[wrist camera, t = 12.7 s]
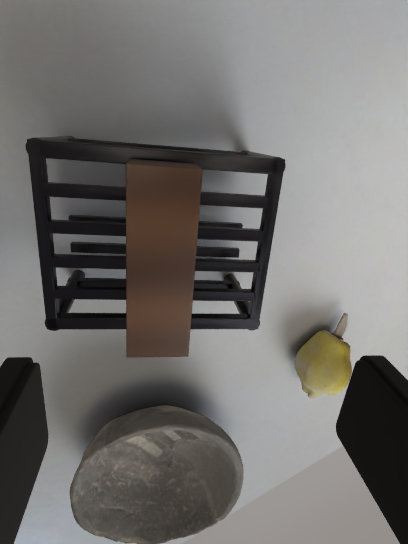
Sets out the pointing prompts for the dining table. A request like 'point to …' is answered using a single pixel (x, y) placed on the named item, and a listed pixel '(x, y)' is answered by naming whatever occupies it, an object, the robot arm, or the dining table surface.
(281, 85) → the dining table surface
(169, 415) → the bowl
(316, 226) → the dining table surface
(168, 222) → the brown wooden block
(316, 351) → the fruit
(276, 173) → the rack
